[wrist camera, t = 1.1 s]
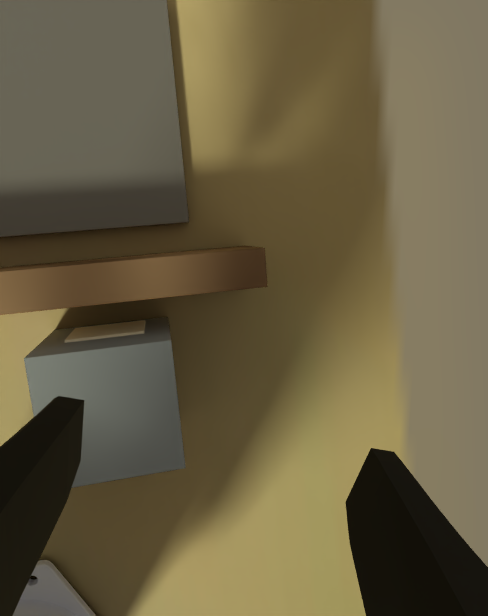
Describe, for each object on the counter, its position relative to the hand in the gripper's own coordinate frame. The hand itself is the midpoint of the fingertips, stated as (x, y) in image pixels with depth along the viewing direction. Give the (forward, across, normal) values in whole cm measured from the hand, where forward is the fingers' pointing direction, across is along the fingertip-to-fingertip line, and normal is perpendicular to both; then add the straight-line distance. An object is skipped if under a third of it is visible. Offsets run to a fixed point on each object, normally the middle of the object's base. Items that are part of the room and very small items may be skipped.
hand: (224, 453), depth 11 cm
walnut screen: (+10, +6, +1) cm, 12 cm away
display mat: (+12, +8, -5) cm, 15 cm away
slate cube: (+9, +4, +5) cm, 11 cm away
